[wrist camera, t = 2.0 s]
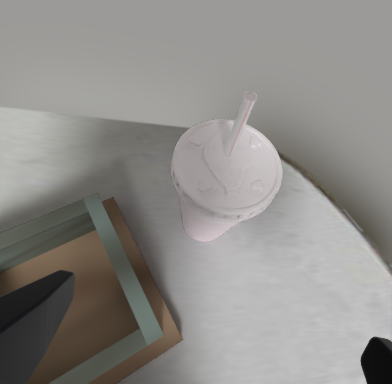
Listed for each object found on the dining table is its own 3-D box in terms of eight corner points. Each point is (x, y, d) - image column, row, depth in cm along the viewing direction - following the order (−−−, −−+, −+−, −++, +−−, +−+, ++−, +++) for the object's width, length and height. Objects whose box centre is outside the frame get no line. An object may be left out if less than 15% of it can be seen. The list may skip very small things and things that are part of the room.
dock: (181, 339, 20) (187, 342, 15) (0, 456, 16) (-56, 503, 12) (115, 202, 24) (105, 176, 19) (-43, 271, 20) (-96, 256, 16)
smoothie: (234, 188, 26) (306, 58, 13) (244, 256, 23) (346, 173, 10) (166, 188, 25) (173, 49, 12) (167, 259, 22) (178, 172, 10)
